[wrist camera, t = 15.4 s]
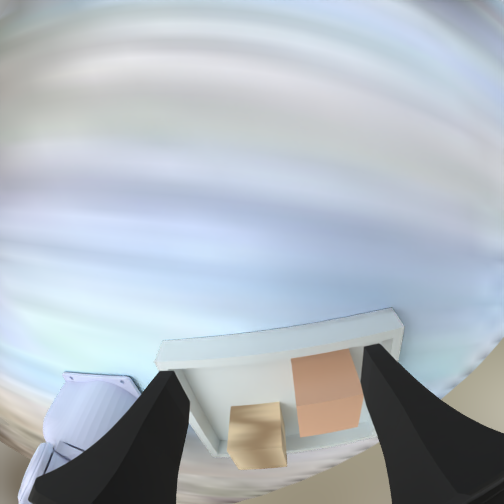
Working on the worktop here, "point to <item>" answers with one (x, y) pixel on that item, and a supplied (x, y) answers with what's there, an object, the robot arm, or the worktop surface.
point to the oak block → (257, 436)
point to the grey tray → (270, 374)
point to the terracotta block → (326, 392)
